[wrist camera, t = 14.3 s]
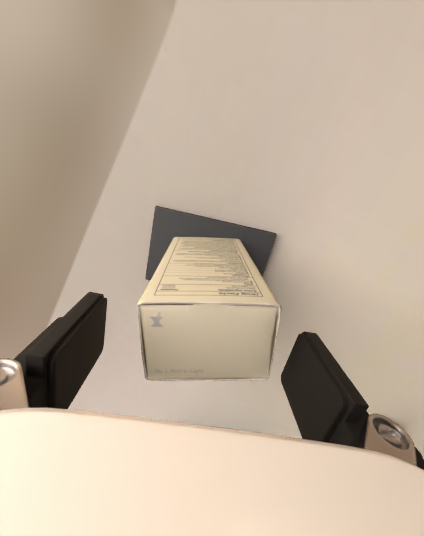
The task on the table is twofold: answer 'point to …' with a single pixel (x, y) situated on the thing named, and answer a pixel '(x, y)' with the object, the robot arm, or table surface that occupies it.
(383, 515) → the robot arm
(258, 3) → the table surface
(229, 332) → the cosmetic box
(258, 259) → the mat
